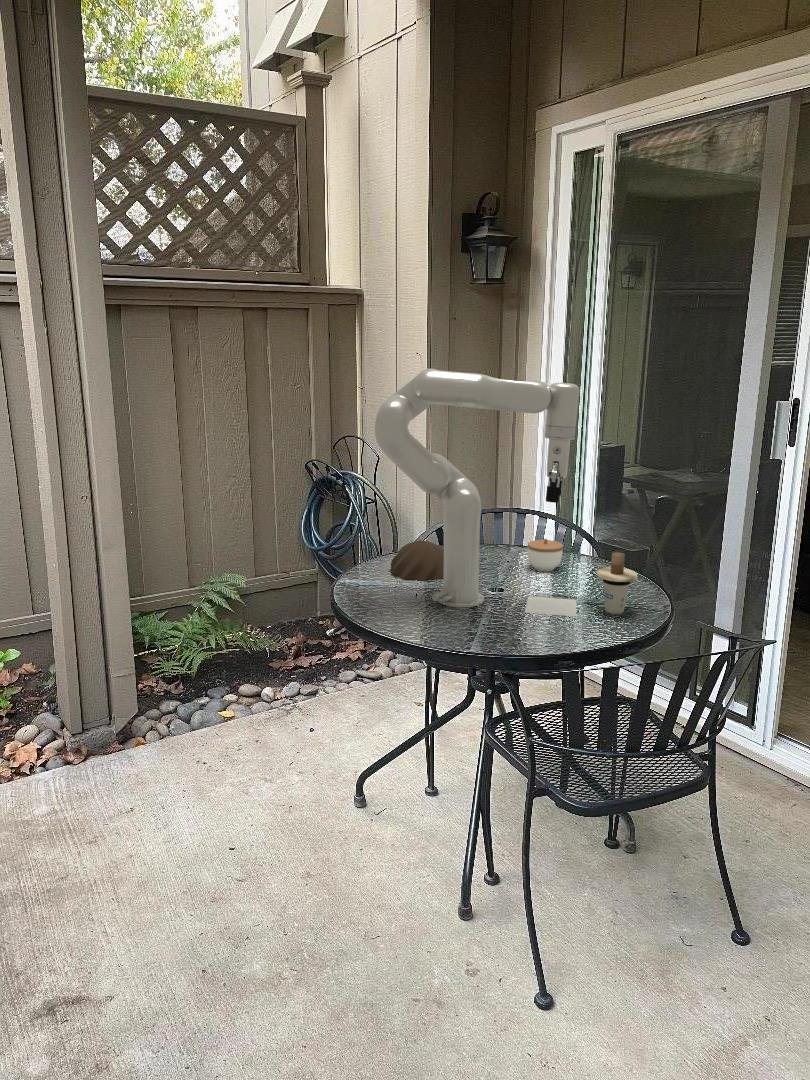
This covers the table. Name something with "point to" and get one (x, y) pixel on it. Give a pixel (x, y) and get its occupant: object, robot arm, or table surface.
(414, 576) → the decorative dome
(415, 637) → the table surface
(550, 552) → the lidded jar
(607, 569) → the lid
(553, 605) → the mat
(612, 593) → the coffee cup
